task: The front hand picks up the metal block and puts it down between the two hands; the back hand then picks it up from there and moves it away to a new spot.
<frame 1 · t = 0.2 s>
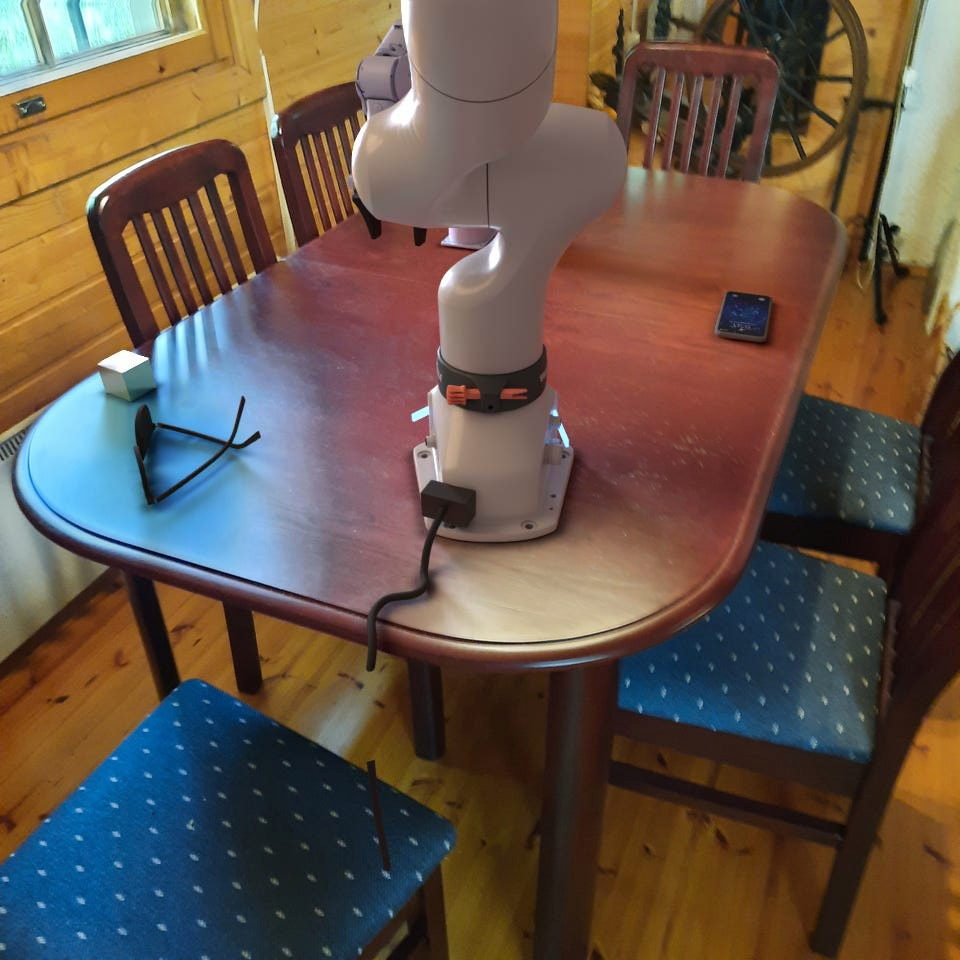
back hand: (398, 240, 130), 10 cm above the table, tool pointing down, fingers open, 7 cm apart
sunglasses: (202, 458, 102), on the table
block: (131, 389, 115), on the table
smartphone: (743, 319, 128), on the table
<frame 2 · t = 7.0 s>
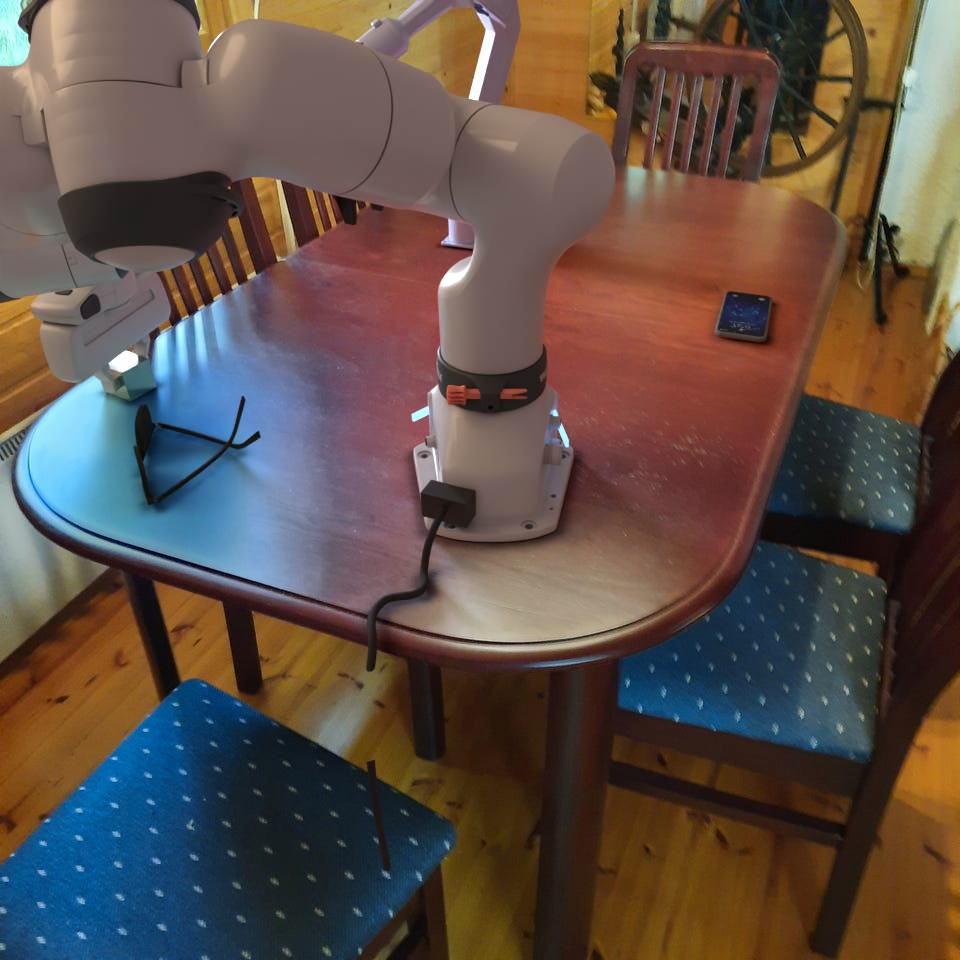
front hand: (128, 378, 114), 2 cm above the table, tool pointing down, fingers closed on block, 5 cm apart
back hand: (364, 216, 146), 7 cm above the table, tool pointing down, fingers open, 7 cm apart
block: (131, 389, 115), on the table, touching front hand
everything else where it was.
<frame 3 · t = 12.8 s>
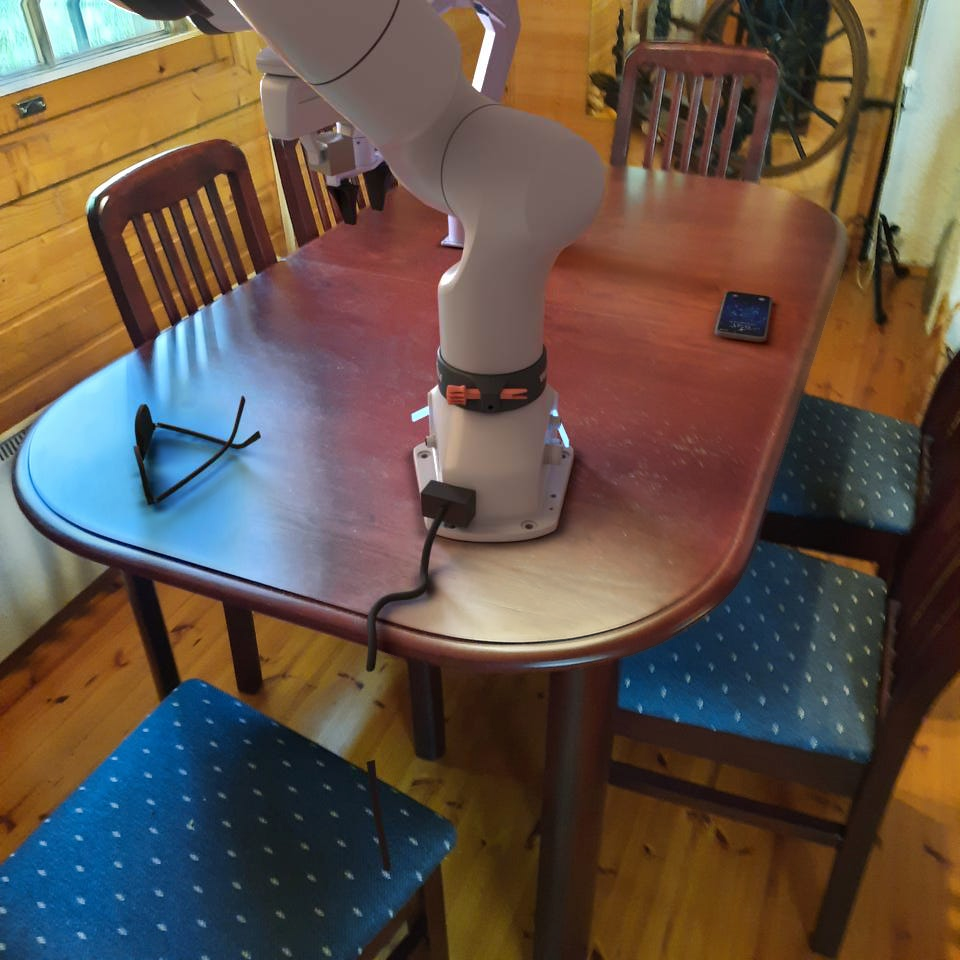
front hand: (331, 157, 119), 24 cm above the table, tool pointing down, fingers closed on block, 5 cm apart
back hand: (364, 216, 146), 7 cm above the table, tool pointing down, fingers open, 7 cm apart
block: (332, 169, 120), point 22 cm above the table, touching front hand
everything else where it was.
when the front hand's fingers open (3 cm above the table, at t = 18.9 s): block drops 1 cm, on the table.
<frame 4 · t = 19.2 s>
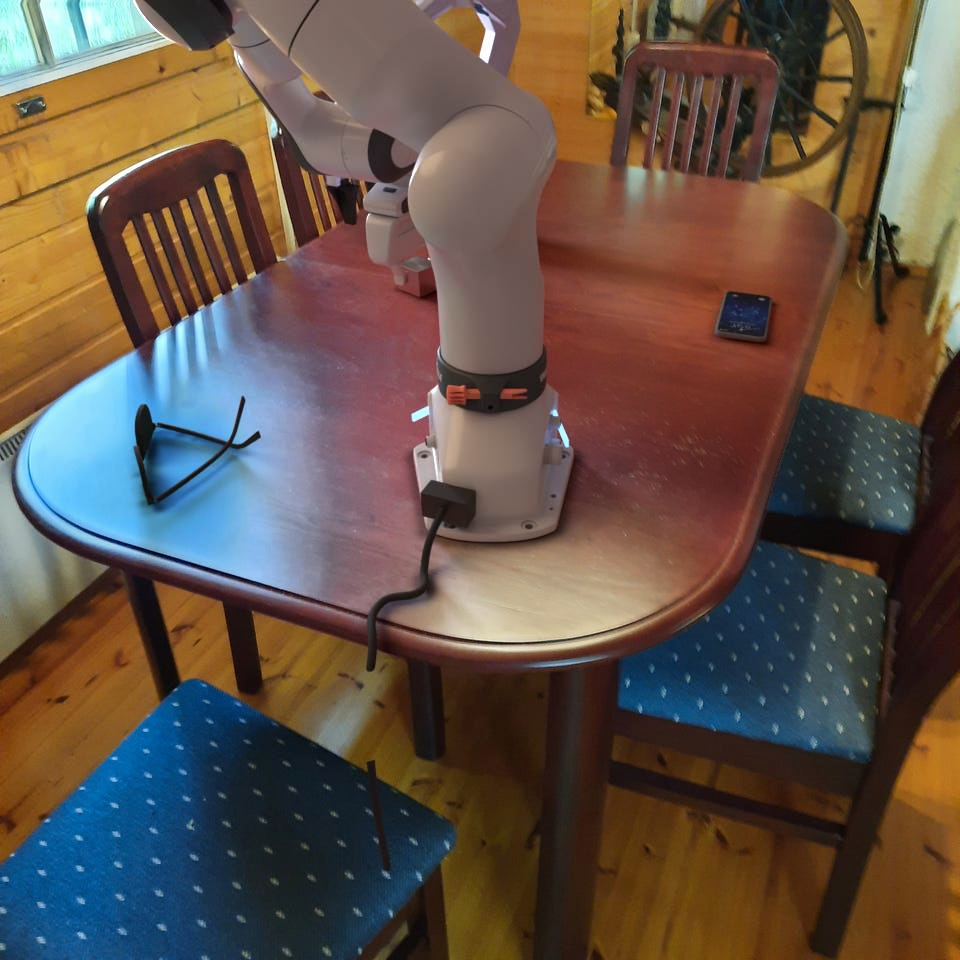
front hand: (418, 272, 138), 3 cm above the table, tool pointing down, fingers open, 8 cm apart
back hand: (364, 216, 146), 7 cm above the table, tool pointing down, fingers open, 7 cm apart
block: (419, 288, 139), on the table
everything else where it was.
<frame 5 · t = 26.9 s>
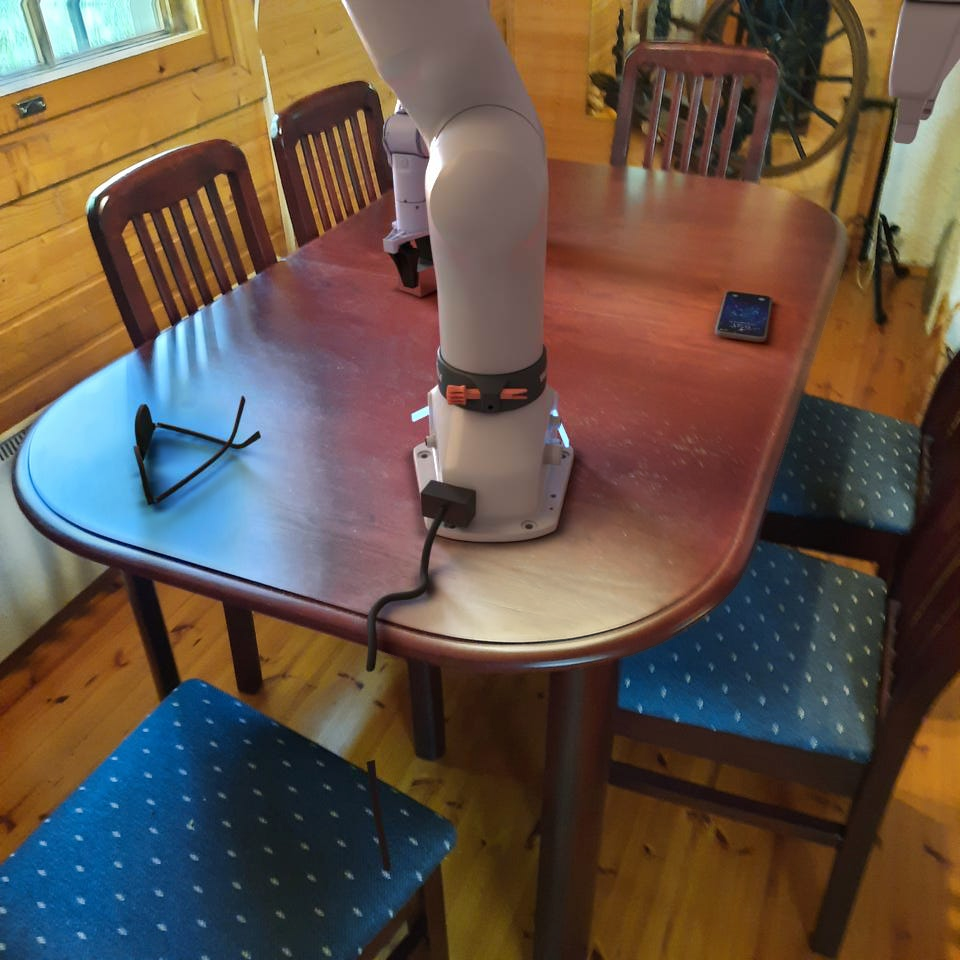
front hand: (912, 129, 84), 35 cm above the table, tool pointing down, fingers open, 8 cm apart
back hand: (419, 280, 139), 1 cm above the table, tool pointing down, fingers closed on block, 5 cm apart
block: (419, 288, 139), on the table, touching back hand
everything else where it was.
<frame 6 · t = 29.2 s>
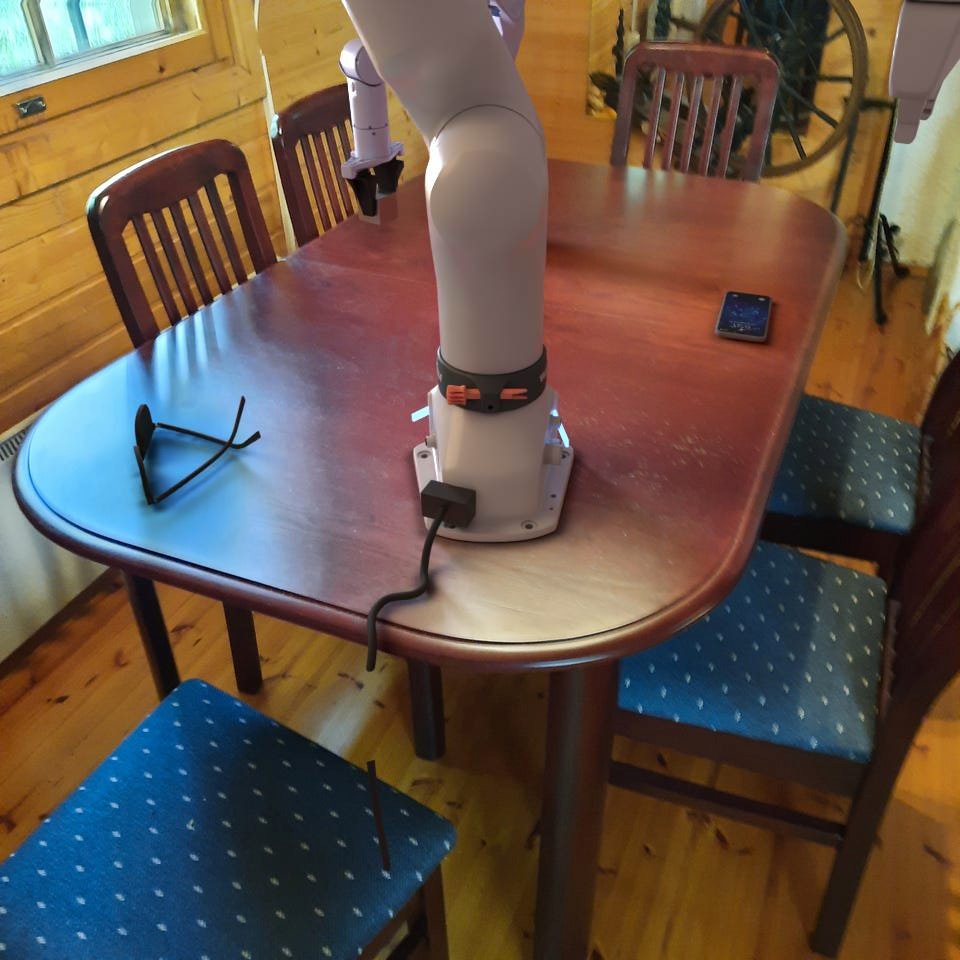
front hand: (912, 129, 84), 35 cm above the table, tool pointing down, fingers open, 8 cm apart
back hand: (378, 210, 142), 9 cm above the table, tool pointing down, fingers closed on block, 5 cm apart
block: (378, 218, 143), point 8 cm above the table, touching back hand
everything else where it was.
when the back hand's fingers open (3 cm above the table, at t = 31.9 s): block drops 1 cm, on the table.
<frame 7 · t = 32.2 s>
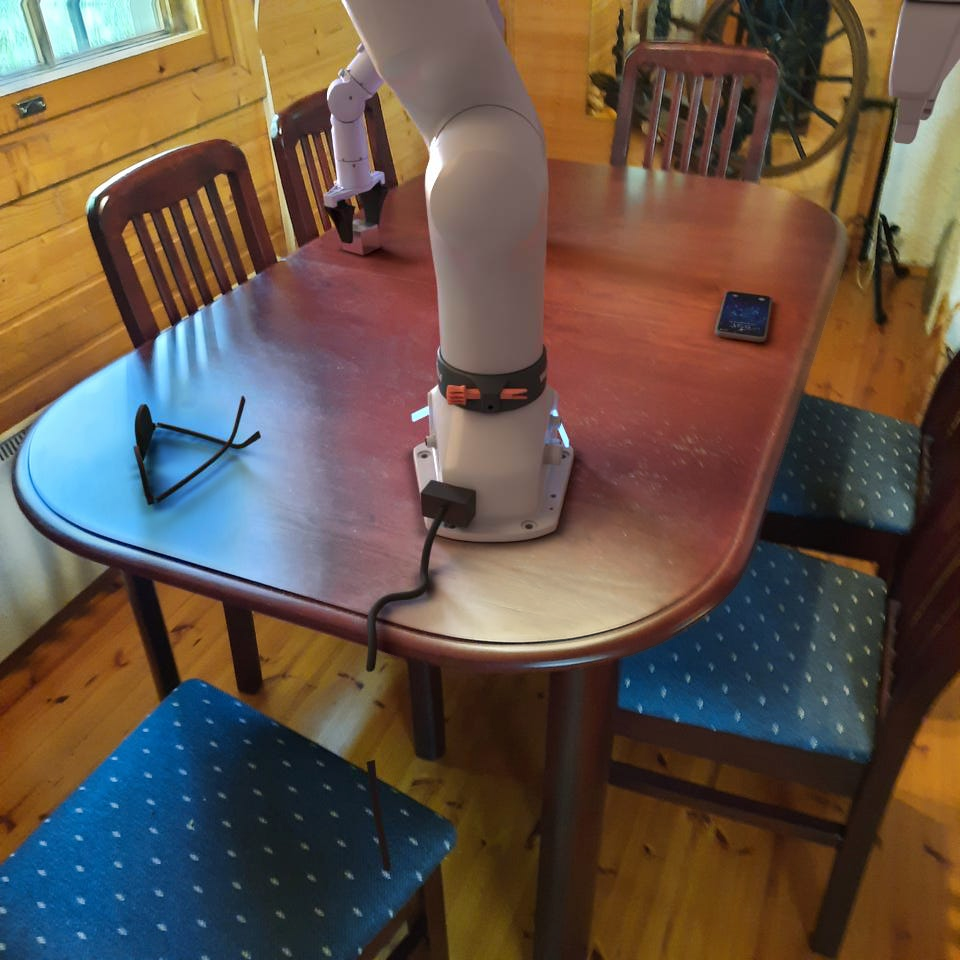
front hand: (912, 129, 84), 35 cm above the table, tool pointing down, fingers open, 8 cm apart
back hand: (360, 235, 152), 3 cm above the table, tool pointing down, fingers open, 7 cm apart
block: (361, 248, 154), on the table
everything else where it was.
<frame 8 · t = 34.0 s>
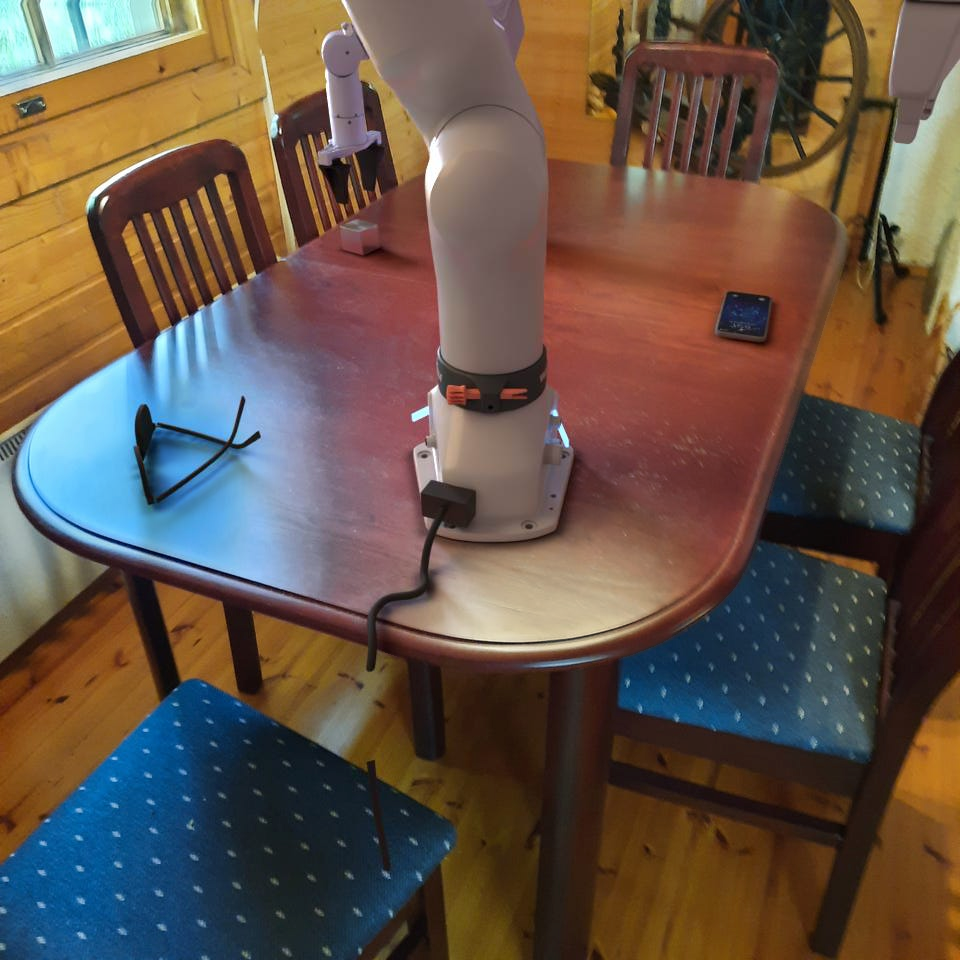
front hand: (912, 129, 84), 35 cm above the table, tool pointing down, fingers open, 8 cm apart
back hand: (356, 196, 148), 9 cm above the table, tool pointing down, fingers open, 7 cm apart
nothing on the table moved.
at the end: block inside the target area (0.1 cm from its centre), on the table; block tilted 0°; the two hands never held the block at the same time; the front hand is holding nothing; the back hand is holding nothing; block at rest at the end (0.0 cm/s) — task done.
